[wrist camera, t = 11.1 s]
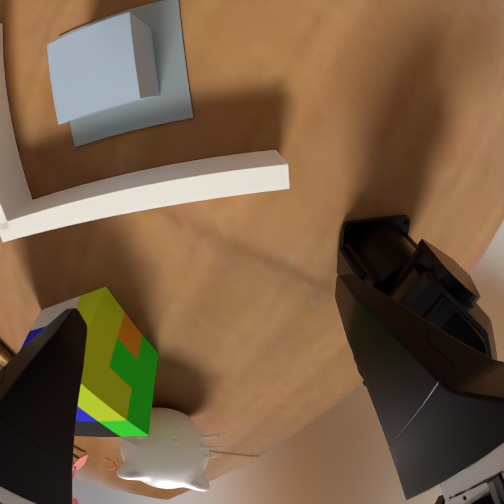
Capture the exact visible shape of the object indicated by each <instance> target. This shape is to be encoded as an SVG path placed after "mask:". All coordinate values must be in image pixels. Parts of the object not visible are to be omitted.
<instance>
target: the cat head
mask: <svg viewBox="0 0 504 504" xmlns="http://www.w3.org/2000/svg"><path fill="white" fill-rule="evenodd" d="M224 434H226V433H223V434H215V435H205V434H204V433H203V431H202V429H201V428H200V427H199V425H198V424H197V423H196V422H195V421H194V420H192V419H191V418H190V417H188V416H187V415H185V414H184V413H182V412H179V411H177V410H174V409H170V408H162V407H157V408H152V410H151V420H150V430H149V436H128V437H119V438H120V452H121V456H122V458H123V461H124V463H123V464H122V465H121V467H120V468H119V469H118V471H117V475H118V476H119V477H120V478H123V479H128V480H141V481H143V482H144V483H146V484H149V485H151V486H154V487H158V488H164V489H174V488H180V487H186V488H190V489H194V490H198V491H207V490H209V489H210V486H209V483H208V481H207V480H206V478H205V475H204V469H205V467H206V465H207V462H208V459H209V458H213V457H217V456H220V455H223V454H218V455H209V449H217V448H225V447H219V446H208V442H207V439H209V438H214V437H219V436H221V435H224Z"/></svg>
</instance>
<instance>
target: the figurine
mask: <svg viewBox="0 0 504 504" xmlns="http://www.w3.org/2000/svg"><path fill="white" fill-rule="evenodd" d="M87 456H88V454H86V455H83V456H81V457H80V458H78V459H77V460H76V461H75V462H74V461H73V465H72V468H73V469H72V479H73V476H74V473H75V471H76V470H77V469H79V468H80V467H81V466H82V465H83V464H84V463H85V461H86V459H87ZM107 459H108V458H107ZM109 460H110V459H109ZM110 461H111V460H110ZM112 462H113V461H112ZM113 463H114V462H113ZM114 464H115V463H114ZM115 465H116V464H115ZM114 469H115V468H114ZM117 469H118V468H117ZM108 470H112V469H108ZM72 504H78V501H77V499H75V498H74V497H73V496H72Z"/></svg>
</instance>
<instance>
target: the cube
mask: <svg viewBox="0 0 504 504" xmlns="http://www.w3.org/2000/svg"><path fill="white" fill-rule="evenodd" d="M47 51H48V61H49V70H50V78H51V85H52V92H53V98H54V104H55V109H56V115H57V120H58V125H60V124H63V123H66V122H69V121H72V120H75V119H78V118H81V117H84V116H88V115H91V114H94V113H97V112H101V111H104V110H107V109H110V108H114V107H117V106H120V105H124V104H128V103H131V102H135V101H139V100H143V99H147V98H151V97H155V96H160V92H159V85H158V78H157V71H156V64H155V56H154V48H153V40H152V31H151V28H150V27H149V26H147V25H146V24H145V23H144V22H142V21H141V20H140V19H138V18H137V17H136V16H134V15H133V14H132V13H130V12H128V13H124V14H121V15H118V16H115V17H112V18H109V19H106V20H104V21H101V22H98V23H95V24H93V25H90V26H88V27H85V28H83V29H80V30H78V31H76V32H73V33H71V34H69V35H67V36H65V37H62V38H60V39H58V40H56V41H54V42H52V43H50V44H48V45H47Z"/></svg>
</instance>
